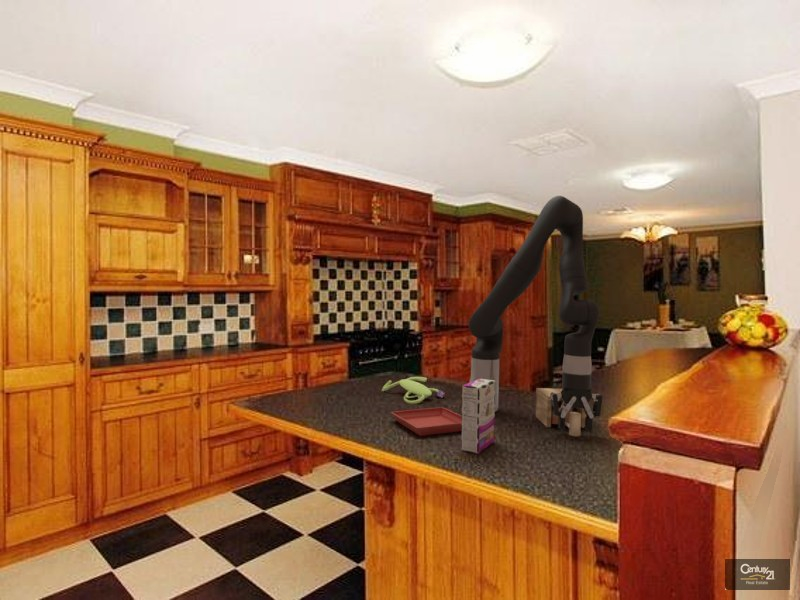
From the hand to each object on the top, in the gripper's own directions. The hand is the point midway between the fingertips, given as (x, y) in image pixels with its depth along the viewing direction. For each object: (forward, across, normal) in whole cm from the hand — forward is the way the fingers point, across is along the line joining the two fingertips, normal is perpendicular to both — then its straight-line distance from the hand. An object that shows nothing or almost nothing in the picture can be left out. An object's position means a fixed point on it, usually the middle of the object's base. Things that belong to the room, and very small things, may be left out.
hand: (575, 430), depth 132 cm
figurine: (+2, -44, +46) cm, 64 cm away
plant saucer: (+2, -40, +5) cm, 40 cm away
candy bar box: (+1, -29, -12) cm, 32 cm away
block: (+1, 0, +7) cm, 8 cm away
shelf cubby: (+1, 0, +13) cm, 13 cm away
